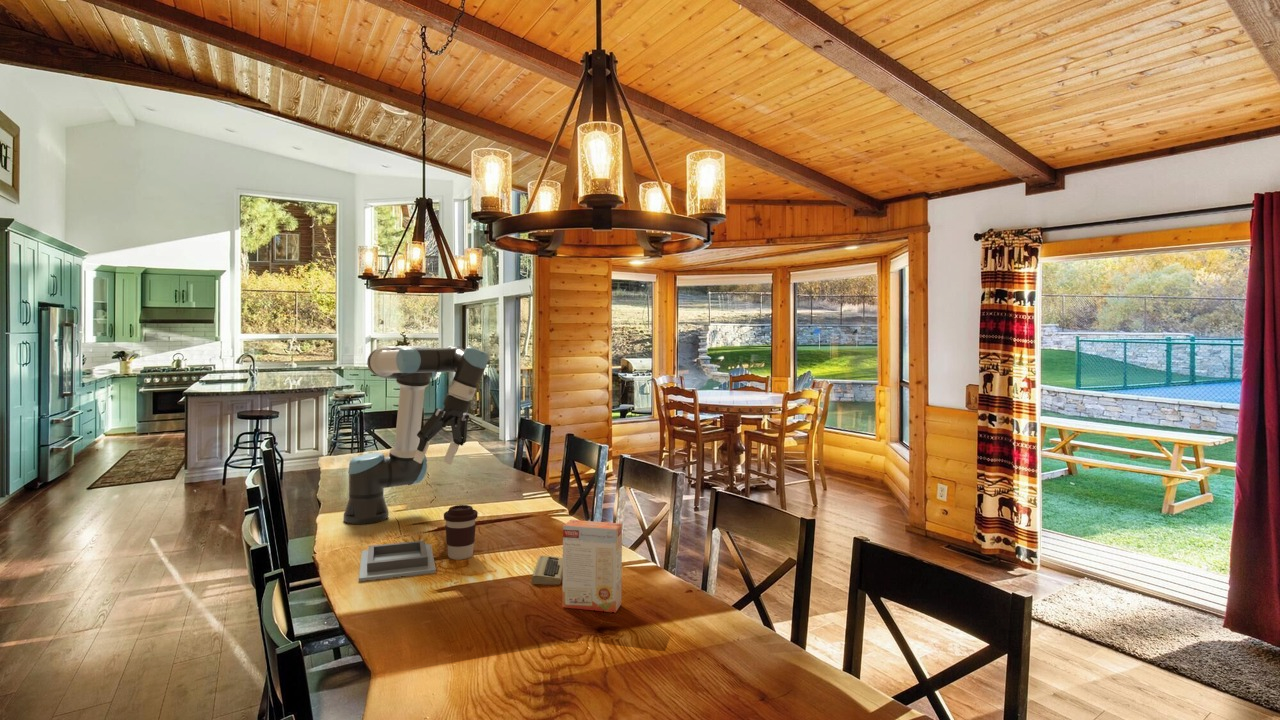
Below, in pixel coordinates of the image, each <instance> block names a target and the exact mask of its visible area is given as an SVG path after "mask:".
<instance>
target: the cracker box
mask: <svg viewBox="0 0 1280 720" xmlns="http://www.w3.org/2000/svg"><path fill="white" fill-rule="evenodd" d="M622 554H623V524H622V523H619V522H607V521H591V520H580V519H579V520H578V519H570V520H569V521H567V522H565V524H564V525H562V558H563V575H562V591H561V592H562V593H561V594H562V597H561V598H562V608H568V609H577V610H585V611H586V610H587V611H594V610H595V611H594V612H603V611H604V613H605V612H606V613H612V612H614V614H615V613H617V611H619V609H620V606H621V605H622V587H623V586H622V585H623V584H622V583H623V582H622V578H623V577H622V576H623V575H622V574H623V573H622V572H623V570H622V569H623V562H622V561H623V560H622V559H623V557H622V556H623V555H622Z"/></svg>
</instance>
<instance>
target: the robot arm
mask: <svg viewBox="0 0 1280 720" xmlns="http://www.w3.org/2000/svg"><path fill="white" fill-rule="evenodd" d="M489 357H490V356H489V353H487V352H486V351H483V350H482V349H481V350H480V349H479V348H476V347H473V346H471V345H469V346H467V347H465V349H464V348H463V347H461V346H457V345H449V346H447V347H435V348H434V347H429V346H422V345H404V346H403V345H397V346H396V345H388V346H381V347H378V348H376V349H374V350H373V351H371V352H370V353H369V355H368V357H367V361H366V363H367V365H366V366H367V368H368V370H369V371H370V372H371V373H372V374H373V375H375V376H376V377H380V378H382V379H394V380H395V382H396V384H398V385H399V395H398V406H397V407H398V408H397V417H396V428H395V429H396V430H395V437H394V438H395V439H394V446H392V447H391V448H390V449H389V454H388V455H386V456H385V455H384V454H383V453H382V452H369V453H368V452H367V453H363V454H359V455H358V456H354V457H353V458H351V459H350V461H349V463H348V501H347V504H346V507H345V509H344V512H343V522H344V521H345V522H344V523H346V522H347V524H349V523H352V524H351V525H367V524H368V523H369V524H375V523H380V522H382V520H383V521H385V520H387V519H389V517H388V516H389V512H390V511H389V508H388V505H387V502H386V500H385V497H384V496H385V495H384V489H387V488H394V487H402V486H412V485H415V484H419V483H421V482H422V481H423V480H424V479H425V477H426V474H427V469H428V462H427V461H428V459H427V456H426V453H427V452H428V449H429V447H430V444H431V442H430V440H431V439H433V438H434V437H435V436H436V435H437V434H438V433H439V432H440V431H441V430H442V429H443V428H446V427H451V435H452V440H453V441H450V444H449V445H448V448H447V450H446V452H445V455H444V458H443V460H442V461H443V462H444V463H446V464H448V465H452V463H453V461H454V459H455V456H456V453H457V452H458V449H459V448H460V446H461V447H462V446H464V444H465V443H466V442H467V433H468V422H469V419H470V415H469V414H468V413H467V412H468V411H469V408H470V406H471V401H472V400H473V399H474V397H475V396H474V395H475V393H476V391H477V388H478V386H479V384H480V381H481V378H482V377H483V374H484V371H485V370H486V368H487V366H488V365H487V364H488V361H489V359H490V358H489ZM438 373H455V374H454V376H453V378H452V380H451V382H450V386H449V388H448V393H447V394H446V395H445V398H444V401H443V405H442V406H444V407H443V409H440V408H438V407H436V408H435V409H434V411H433V413H432V415H431V416H430V417H429V419H428V420H427V421H426V422H425V423H424V424H423V426H422V419H423V409H424V408H423V407H424V399H425V389H426V387H428V386H429V385H430V384H431V383H430V382H431V379H434V378H435V377H436V376H437V375H438ZM386 518H387V519H386ZM379 521H380V522H379ZM366 523H367V524H366ZM369 524H368V525H369Z"/></svg>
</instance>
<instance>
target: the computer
mask: <svg viewBox="0 0 1280 720" xmlns="http://www.w3.org/2000/svg"><path fill="white" fill-rule="evenodd" d="M562 581H563V557H557V556H552V555H539V556H538V559H537V561H536V564H535V568H534V570H533V573H532V577H531V585H534V584H542V585H561V583H562Z"/></svg>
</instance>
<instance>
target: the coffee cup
mask: <svg viewBox="0 0 1280 720" xmlns="http://www.w3.org/2000/svg"><path fill="white" fill-rule="evenodd" d="M478 514H479V513H478V511H477V510H476V509H474V508H473V506H472V505H468V504H458V505H453V506H450V507H449V509H448V511H445V512H444V513H443V520H444V521H445V537H446V538H445V542H446V545H447V556H448V558H449V559H451V560H456V561H457V560H458V561H460V560H462V561H463V560H466V559H469V558H472V556H473V555H474V543H475V541H476V539H475V537H476V527H477V526H476V525H477V523H476V520H477V518H478Z"/></svg>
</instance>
